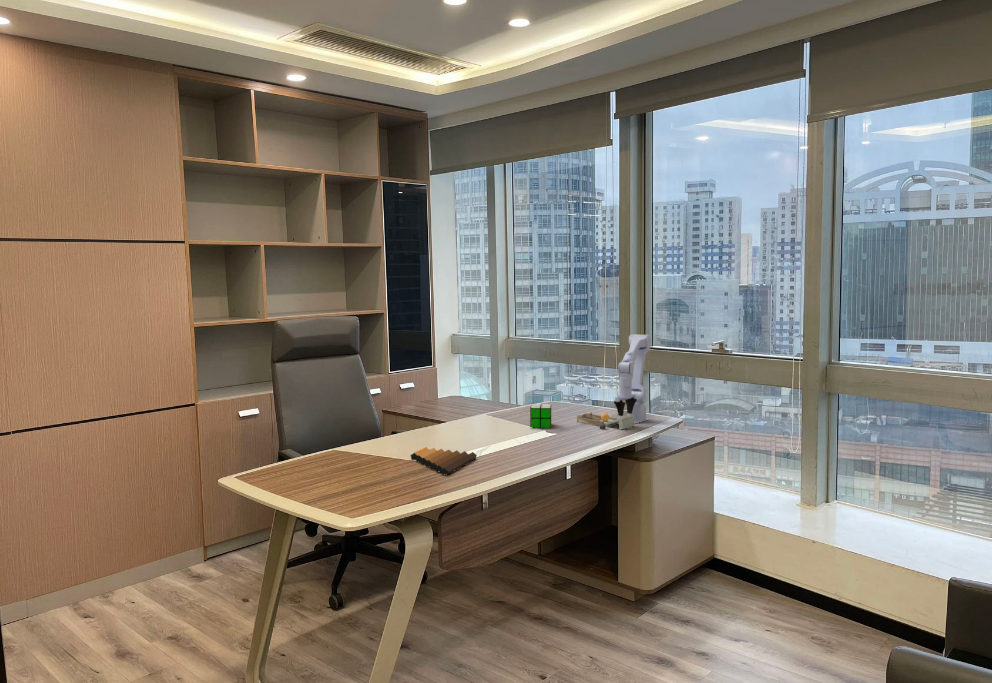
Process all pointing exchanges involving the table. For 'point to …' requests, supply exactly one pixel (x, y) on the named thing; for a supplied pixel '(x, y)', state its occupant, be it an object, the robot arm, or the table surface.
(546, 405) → the puzzle cube
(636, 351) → the robot arm
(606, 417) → the ball
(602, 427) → the tee
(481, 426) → the table surface
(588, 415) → the wooden tray
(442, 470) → the brown ridged panel
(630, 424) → the ramp
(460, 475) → the table surface
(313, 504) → the table surface
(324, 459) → the table surface
